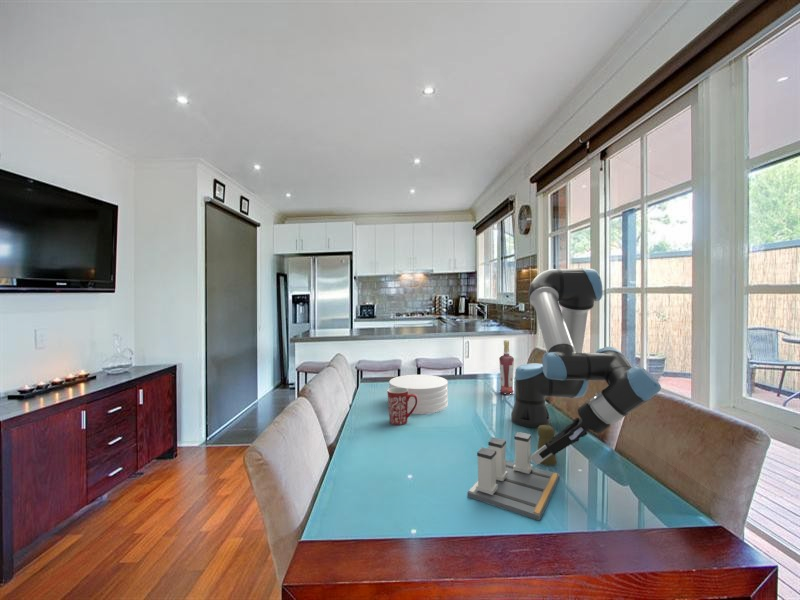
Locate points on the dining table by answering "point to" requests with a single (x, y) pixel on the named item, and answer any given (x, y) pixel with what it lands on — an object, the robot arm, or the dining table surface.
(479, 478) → the lever far
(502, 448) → the lever mid
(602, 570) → the dining table surface
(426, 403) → the plate stack
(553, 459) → the cork
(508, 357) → the liquor
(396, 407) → the mug
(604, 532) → the dining table surface
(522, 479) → the panel
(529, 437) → the lever
